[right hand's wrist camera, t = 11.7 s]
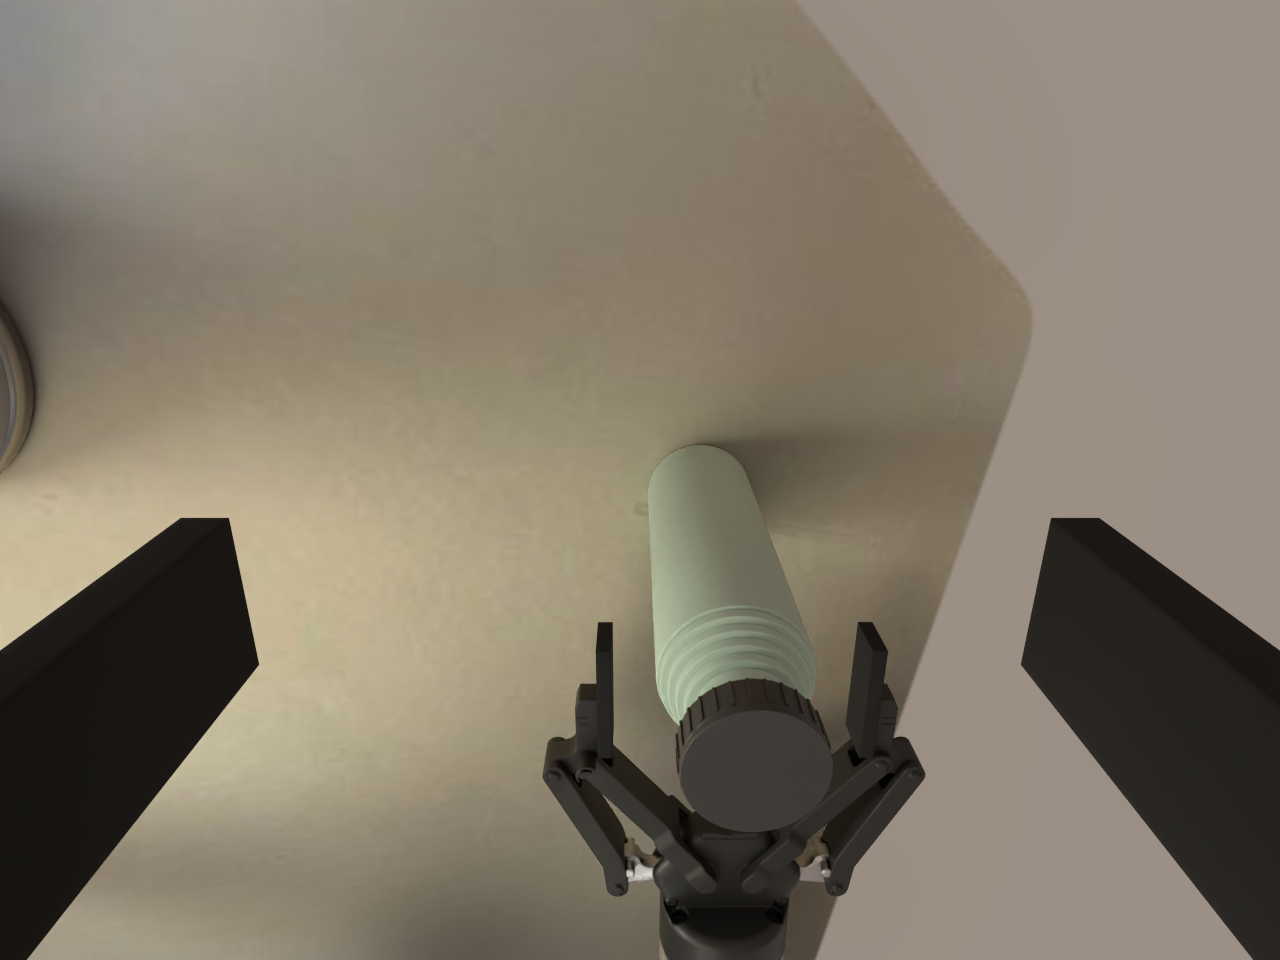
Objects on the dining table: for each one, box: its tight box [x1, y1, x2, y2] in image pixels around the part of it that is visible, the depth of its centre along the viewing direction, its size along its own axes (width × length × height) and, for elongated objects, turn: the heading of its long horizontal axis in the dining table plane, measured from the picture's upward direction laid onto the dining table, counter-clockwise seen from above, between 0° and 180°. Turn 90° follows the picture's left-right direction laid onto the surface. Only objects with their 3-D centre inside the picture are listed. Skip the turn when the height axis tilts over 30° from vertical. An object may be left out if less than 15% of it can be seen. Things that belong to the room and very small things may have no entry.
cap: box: [676, 678, 833, 832], centre depth 24 cm, size 5×5×2 cm
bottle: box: [648, 445, 816, 726], centre depth 33 cm, size 6×6×22 cm
